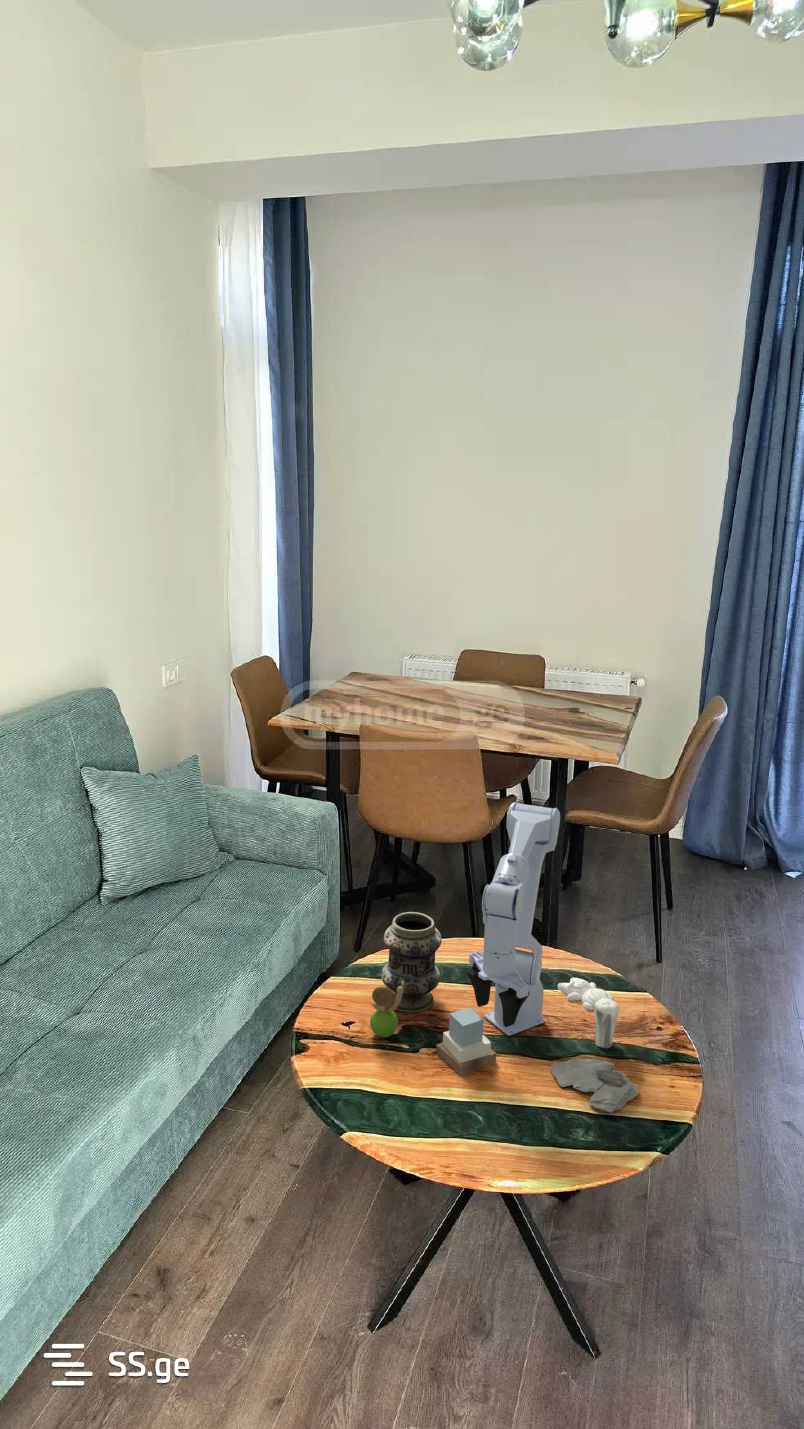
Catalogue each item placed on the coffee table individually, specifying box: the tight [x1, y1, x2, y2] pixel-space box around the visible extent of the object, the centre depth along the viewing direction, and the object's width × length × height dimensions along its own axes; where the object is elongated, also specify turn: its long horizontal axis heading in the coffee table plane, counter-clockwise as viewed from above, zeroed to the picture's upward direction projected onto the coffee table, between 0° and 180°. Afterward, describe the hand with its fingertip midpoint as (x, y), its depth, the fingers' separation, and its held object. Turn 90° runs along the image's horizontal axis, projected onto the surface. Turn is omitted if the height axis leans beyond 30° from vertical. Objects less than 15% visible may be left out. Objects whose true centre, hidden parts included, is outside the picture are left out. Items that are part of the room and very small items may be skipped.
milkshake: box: [592, 998, 620, 1049], centre depth 183 cm, size 4×5×10 cm
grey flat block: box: [435, 1041, 497, 1077], centre depth 178 cm, size 8×8×2 cm
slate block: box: [448, 1007, 484, 1047], centre depth 177 cm, size 4×4×4 cm
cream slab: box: [442, 1030, 492, 1063], centre depth 178 cm, size 6×6×2 cm
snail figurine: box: [369, 981, 404, 1038], centre depth 183 cm, size 5×6×12 cm
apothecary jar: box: [380, 911, 443, 1014], centre depth 195 cm, size 12×12×18 cm
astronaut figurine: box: [557, 977, 614, 1011], centre depth 200 cm, size 9×12×3 cm
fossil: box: [550, 1057, 639, 1113], centre depth 172 cm, size 17×11×2 cm
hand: (495, 1014), depth 174 cm, fingers open, 7 cm apart
